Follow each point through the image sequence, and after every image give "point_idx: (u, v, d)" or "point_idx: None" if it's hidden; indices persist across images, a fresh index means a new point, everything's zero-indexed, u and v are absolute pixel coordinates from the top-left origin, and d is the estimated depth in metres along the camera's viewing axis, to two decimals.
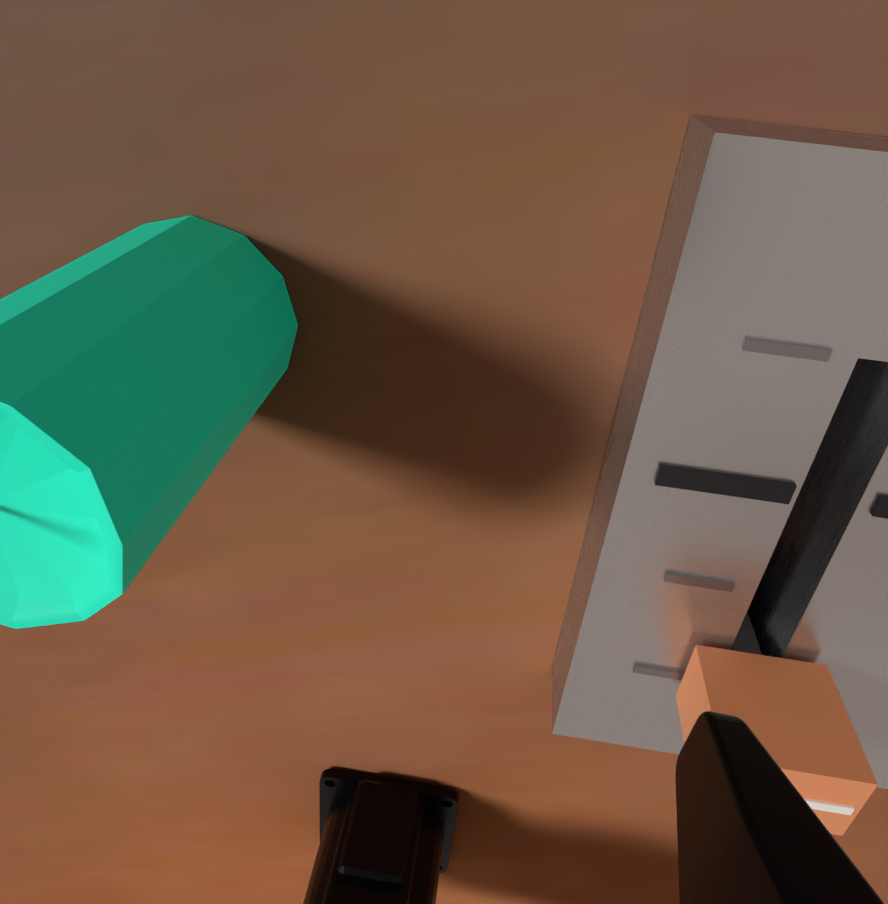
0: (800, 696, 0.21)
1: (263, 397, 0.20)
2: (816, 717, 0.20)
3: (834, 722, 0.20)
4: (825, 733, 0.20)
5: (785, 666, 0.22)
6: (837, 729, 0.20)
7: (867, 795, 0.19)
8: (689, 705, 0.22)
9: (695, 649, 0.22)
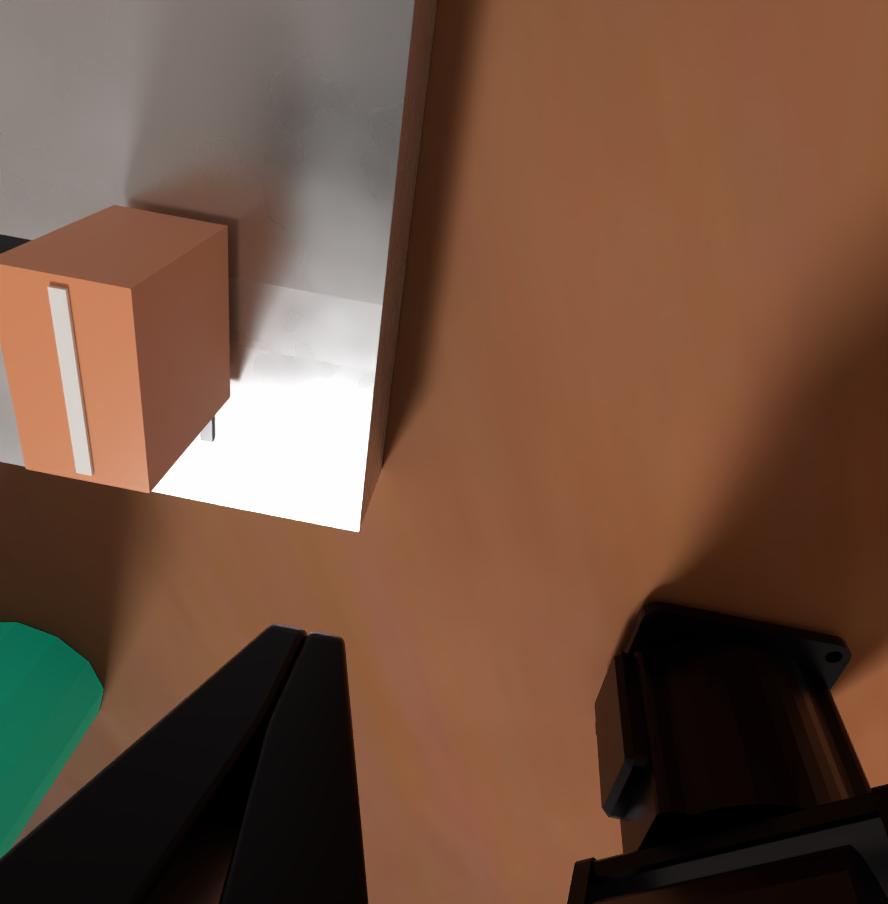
0: None
1: (12, 684, 0.25)
2: None
3: None
4: None
5: None
6: None
7: (24, 266, 0.11)
8: None
9: None
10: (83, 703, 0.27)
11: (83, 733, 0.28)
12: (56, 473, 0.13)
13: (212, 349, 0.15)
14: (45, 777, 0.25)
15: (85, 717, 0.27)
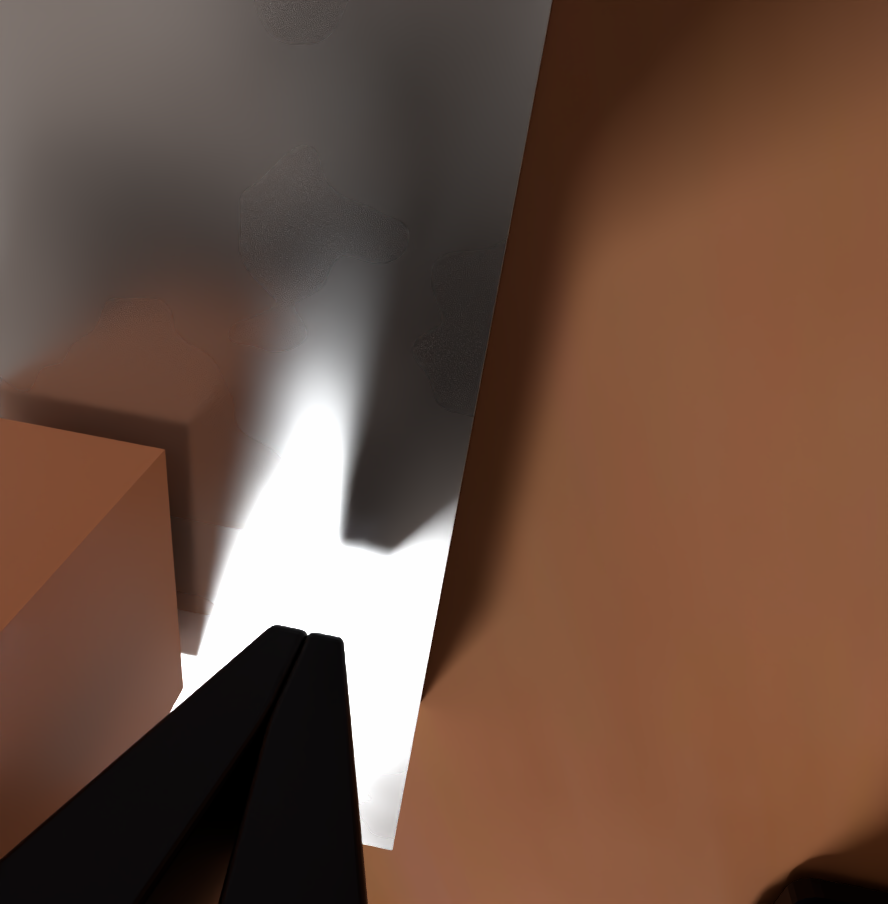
0: None
1: None
2: None
3: None
4: None
5: None
6: None
7: None
8: None
9: None
10: None
11: None
12: None
13: (141, 659, 0.08)
14: None
15: None
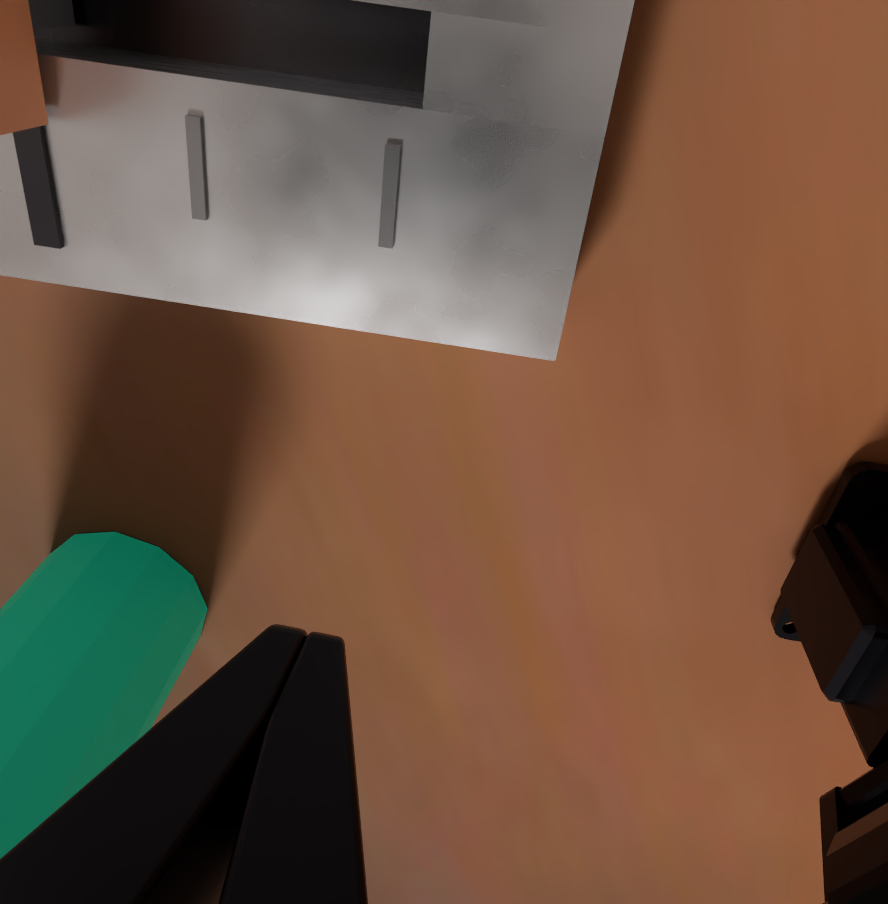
0: None
1: (118, 593, 0.22)
2: None
3: None
4: None
5: None
6: None
7: None
8: None
9: None
10: (190, 620, 0.25)
11: (188, 656, 0.25)
12: None
13: (1, 31, 0.13)
14: (159, 696, 0.22)
15: (192, 636, 0.25)
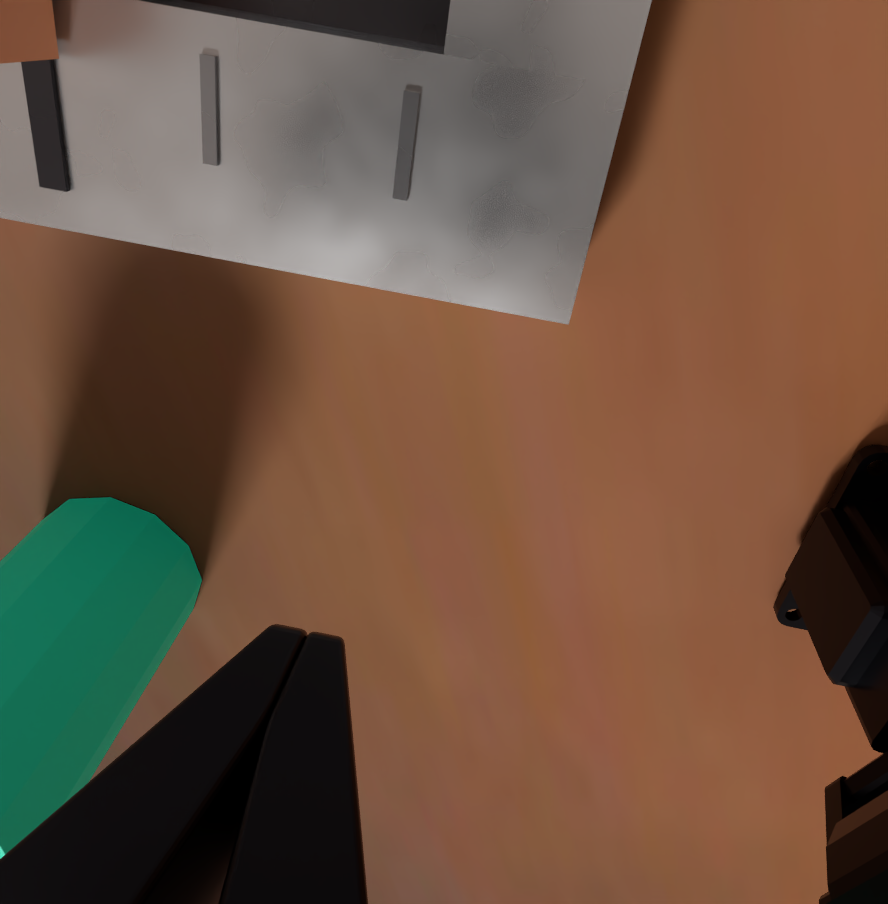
0: None
1: (112, 557, 0.22)
2: None
3: None
4: None
5: None
6: None
7: None
8: None
9: None
10: (183, 590, 0.24)
11: (180, 628, 0.25)
12: None
13: None
14: (149, 664, 0.22)
15: (185, 607, 0.24)
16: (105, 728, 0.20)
